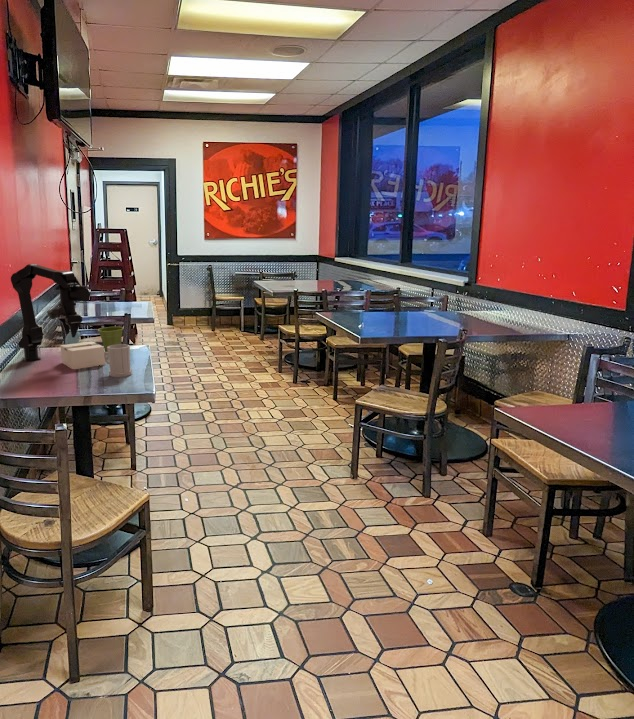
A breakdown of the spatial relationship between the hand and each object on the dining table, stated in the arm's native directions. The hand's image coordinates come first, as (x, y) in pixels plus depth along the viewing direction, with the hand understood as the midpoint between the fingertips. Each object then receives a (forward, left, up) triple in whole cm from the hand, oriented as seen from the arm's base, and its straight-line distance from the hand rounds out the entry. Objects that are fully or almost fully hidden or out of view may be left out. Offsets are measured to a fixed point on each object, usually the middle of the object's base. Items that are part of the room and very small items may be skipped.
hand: (70, 335), depth 281 cm
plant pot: (-13, +23, -13) cm, 29 cm away
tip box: (+4, +4, -13) cm, 13 cm away
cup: (+34, +9, -13) cm, 37 cm away
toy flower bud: (-32, +12, -13) cm, 36 cm away
